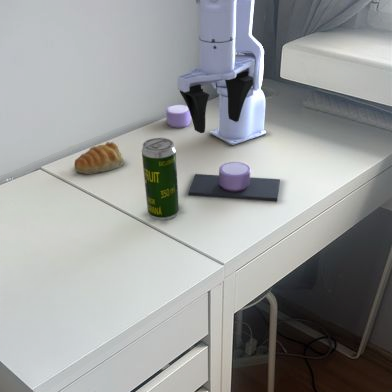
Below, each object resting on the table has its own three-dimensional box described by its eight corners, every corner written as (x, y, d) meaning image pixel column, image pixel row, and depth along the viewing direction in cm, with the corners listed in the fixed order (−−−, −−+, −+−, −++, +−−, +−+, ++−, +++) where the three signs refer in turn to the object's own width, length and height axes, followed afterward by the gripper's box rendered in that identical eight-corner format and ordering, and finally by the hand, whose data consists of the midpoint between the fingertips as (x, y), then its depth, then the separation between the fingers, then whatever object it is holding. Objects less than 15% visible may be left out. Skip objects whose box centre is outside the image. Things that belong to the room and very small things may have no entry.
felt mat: (188, 195, 91) (187, 192, 91) (195, 176, 96) (195, 173, 96) (277, 201, 89) (277, 198, 88) (279, 182, 94) (280, 179, 93)
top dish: (229, 175, 95) (229, 159, 93) (255, 183, 93) (256, 166, 90) (213, 188, 92) (213, 171, 89) (239, 196, 89) (240, 178, 87)
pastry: (85, 180, 96) (82, 161, 94) (69, 168, 100) (64, 149, 97) (127, 165, 100) (124, 146, 98) (109, 154, 104) (106, 136, 101)
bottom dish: (182, 117, 117) (181, 102, 115) (196, 124, 114) (195, 109, 112) (161, 123, 115) (160, 108, 113) (175, 130, 112) (174, 115, 109)
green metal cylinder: (162, 202, 90) (157, 134, 81) (185, 211, 87) (182, 142, 79) (141, 214, 87) (133, 145, 78) (164, 225, 84) (158, 154, 76)
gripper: (194, 52, 74) (197, 144, 84) (268, 34, 80) (263, 121, 89) (168, 42, 78) (173, 130, 88) (240, 25, 84) (237, 110, 94)
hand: (216, 125), depth 89 cm, fingers open, 7 cm apart
